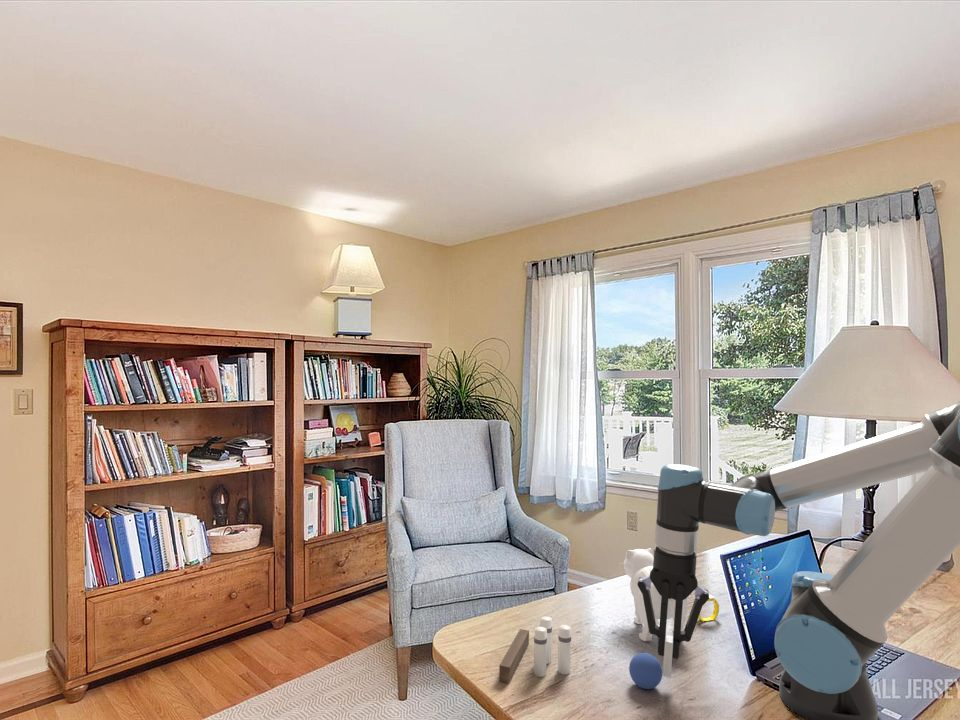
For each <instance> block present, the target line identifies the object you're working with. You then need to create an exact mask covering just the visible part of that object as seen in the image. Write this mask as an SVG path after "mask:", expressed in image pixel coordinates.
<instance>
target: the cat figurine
mask: <svg viewBox="0 0 960 720" xmlns="http://www.w3.org/2000/svg"><path fill="white" fill-rule="evenodd" d="M653 561H654V549H653V548H651V547H649V548H647V549H642V548H635V549H632V550H631V549H627V551H625V559H624V561H622V563H620V562H618V563H617V564H618V567H621V566H622V565H621V564H623V565H624V566H623V568H624V572H625V573H626V575H627V576H628V577H629V578H630V583H629V584H630V587H629V588H630V592H631V595H632V596H633V603H634V609H635V610H634V615H635V617H633V622H634V624H637V625H643V629H642V632H639V633H638V635H639V636H638V637H639V639H640V640H642V641H644V642H650V641H652V639H653V634H650V632H649V628H648V622H647V617H646V611H645V606H644V600H643V594H642V593H641V591H640V589H639V587H638V579H639V578H640V577H643V578H645V577H647V576H649V575H650V572H651V570H652V569H653ZM650 594H651V599H652V605H653V611H654V616H655V622H656V625H657V626H660V611H661V597H662V596H661V595H660V594H659V593H658V591H657V589H656V588H655V586H654V585H653V583H652V582H651V589H650ZM675 601H676V600H674V599H668V609H667V620H670V619H673V621H674V616H675ZM687 606H688V597H687V598H686V599H684V600H683V606H682V619H681V631H684V629H685V625H686V624H685V622H686V617H687V609H688V607H687ZM671 633H672V634H671V636H673V631H672V632H671Z"/></svg>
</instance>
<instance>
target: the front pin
mask: <svg viewBox="0 0 960 720" xmlns="http://www.w3.org/2000/svg"><path fill="white" fill-rule="evenodd" d="M557 638H558V651H557V652H558V657H557V672H558V673H559V674H561V675H565V676H566V675H570V673H571V661H572V660H571V657H572V654H571V651H572V649H571V648H572V627H571V626H570V625H566V624H561V625H559V627H558V636H557Z"/></svg>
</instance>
